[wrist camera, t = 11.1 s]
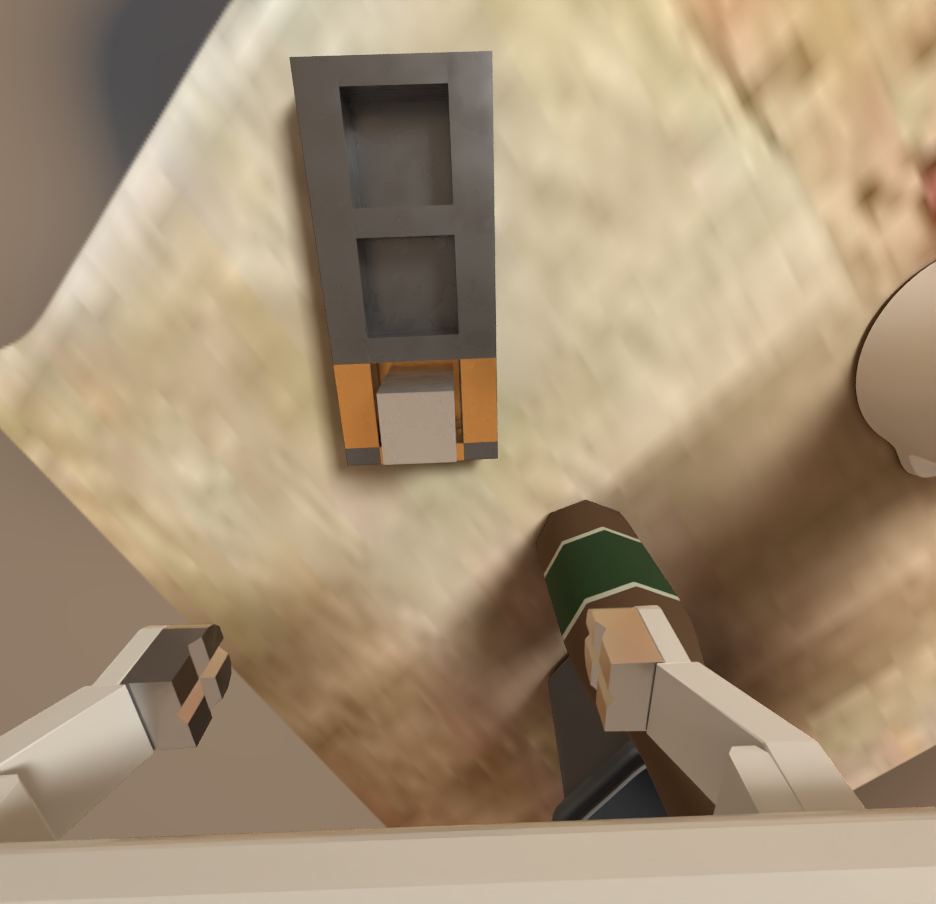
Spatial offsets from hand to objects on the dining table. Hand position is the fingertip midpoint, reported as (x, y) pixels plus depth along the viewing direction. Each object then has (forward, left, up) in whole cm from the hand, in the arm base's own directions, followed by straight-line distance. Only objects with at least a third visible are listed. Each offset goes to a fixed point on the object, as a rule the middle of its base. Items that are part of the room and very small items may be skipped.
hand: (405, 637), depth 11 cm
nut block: (+1, +1, -24) cm, 24 cm away
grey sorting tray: (+1, -6, -25) cm, 26 cm away
